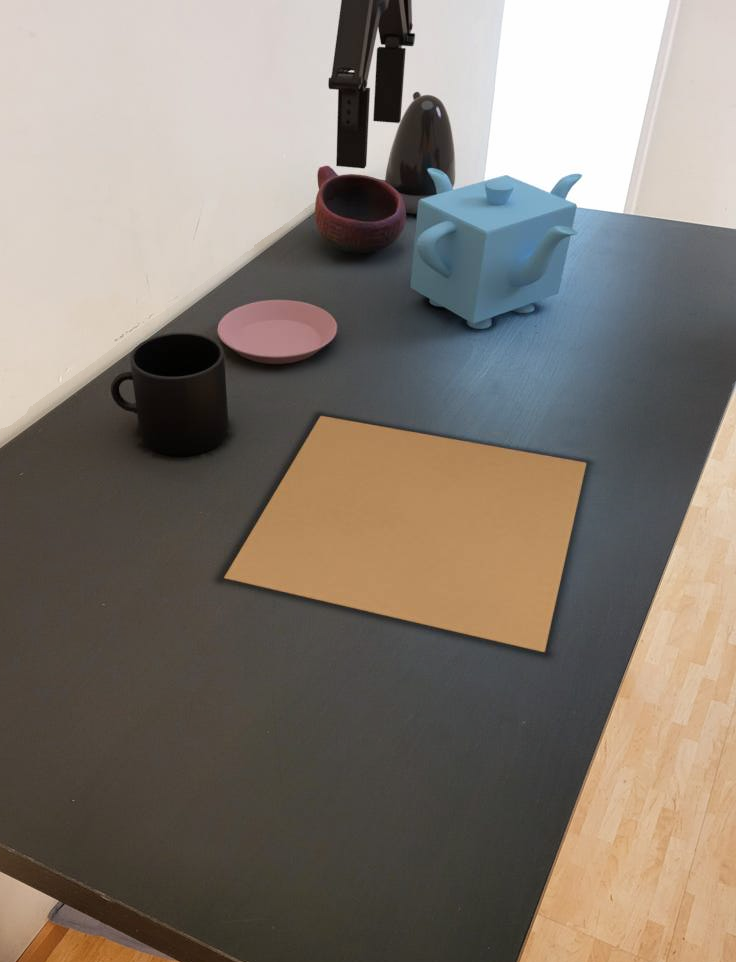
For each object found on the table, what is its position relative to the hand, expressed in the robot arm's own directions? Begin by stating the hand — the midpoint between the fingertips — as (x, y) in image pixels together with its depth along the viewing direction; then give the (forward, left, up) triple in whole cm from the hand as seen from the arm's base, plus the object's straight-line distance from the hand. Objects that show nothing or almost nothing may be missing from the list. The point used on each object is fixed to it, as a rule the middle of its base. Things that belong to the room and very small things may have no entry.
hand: (369, 142), depth 92 cm
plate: (+11, -2, -24) cm, 26 cm away
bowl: (+11, -32, -24) cm, 41 cm away
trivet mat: (-13, +26, -24) cm, 38 cm away
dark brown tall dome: (+5, -48, -24) cm, 54 cm away
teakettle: (-11, -20, -24) cm, 33 cm away
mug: (+15, +20, -24) cm, 35 cm away
